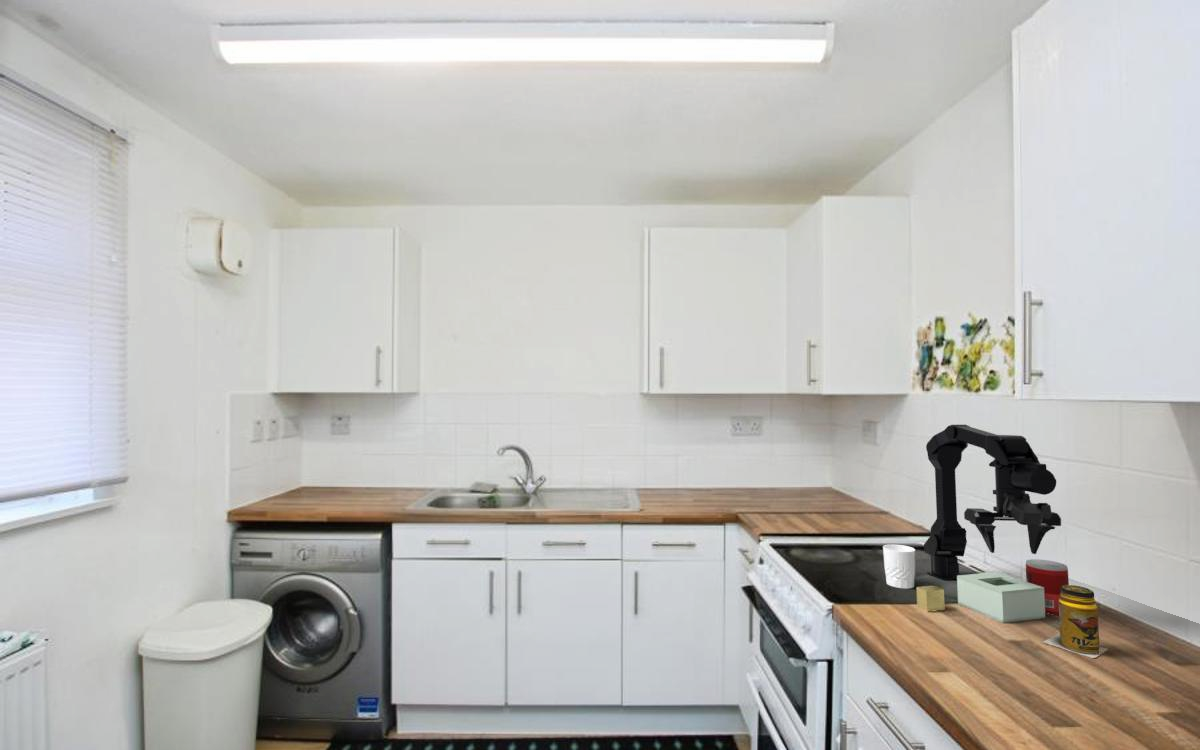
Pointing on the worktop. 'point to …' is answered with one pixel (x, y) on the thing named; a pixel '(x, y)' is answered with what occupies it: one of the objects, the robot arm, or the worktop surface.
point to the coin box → (1001, 597)
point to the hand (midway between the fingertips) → (1012, 553)
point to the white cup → (899, 565)
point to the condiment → (1078, 622)
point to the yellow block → (930, 598)
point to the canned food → (1048, 580)
